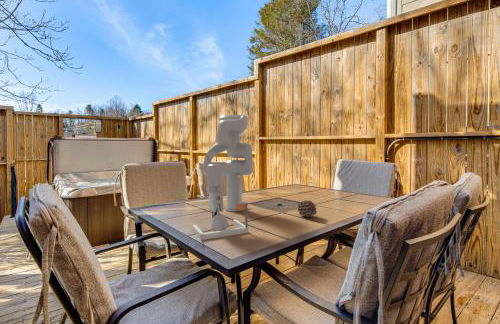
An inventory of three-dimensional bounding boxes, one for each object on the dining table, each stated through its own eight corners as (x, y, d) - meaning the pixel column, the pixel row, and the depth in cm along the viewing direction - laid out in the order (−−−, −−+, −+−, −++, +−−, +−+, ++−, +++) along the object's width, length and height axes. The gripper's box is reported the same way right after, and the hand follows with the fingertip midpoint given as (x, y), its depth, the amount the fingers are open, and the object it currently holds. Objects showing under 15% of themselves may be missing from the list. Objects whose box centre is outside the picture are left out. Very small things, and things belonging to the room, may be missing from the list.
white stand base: (235, 224, 147) (235, 197, 146) (248, 232, 133) (248, 203, 132) (192, 230, 137) (191, 202, 136) (201, 240, 123) (200, 208, 122)
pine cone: (322, 219, 155) (322, 201, 155) (308, 221, 151) (308, 203, 150) (298, 210, 175) (298, 194, 174) (285, 212, 171) (285, 196, 170)
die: (232, 232, 135) (229, 213, 140) (224, 228, 128) (221, 208, 133) (217, 237, 137) (214, 218, 142) (208, 234, 130) (205, 213, 135)
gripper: (227, 190, 135) (227, 227, 136) (217, 185, 148) (217, 219, 150) (212, 191, 132) (213, 229, 133) (203, 187, 145) (204, 221, 146)
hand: (215, 224), depth 141 cm, fingers closed
